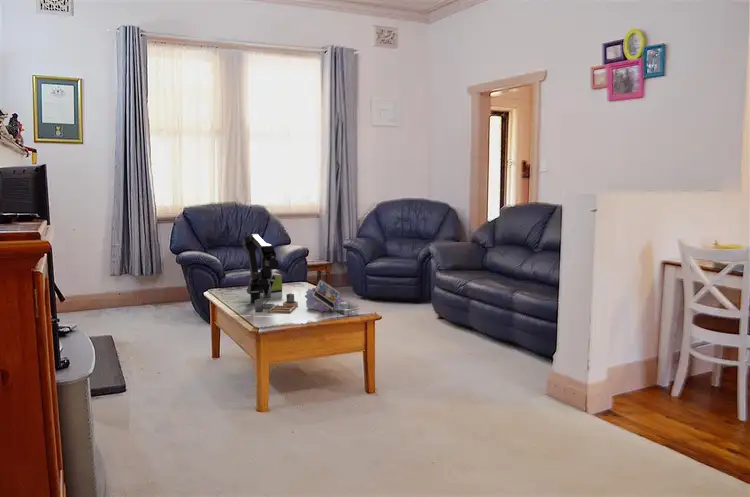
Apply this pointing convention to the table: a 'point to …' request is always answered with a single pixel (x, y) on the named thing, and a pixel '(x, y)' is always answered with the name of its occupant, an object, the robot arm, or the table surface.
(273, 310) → the trough board
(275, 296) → the tea box
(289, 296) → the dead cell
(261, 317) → the table surface
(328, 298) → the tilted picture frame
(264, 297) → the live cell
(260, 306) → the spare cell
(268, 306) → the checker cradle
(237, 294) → the table surface
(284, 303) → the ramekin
